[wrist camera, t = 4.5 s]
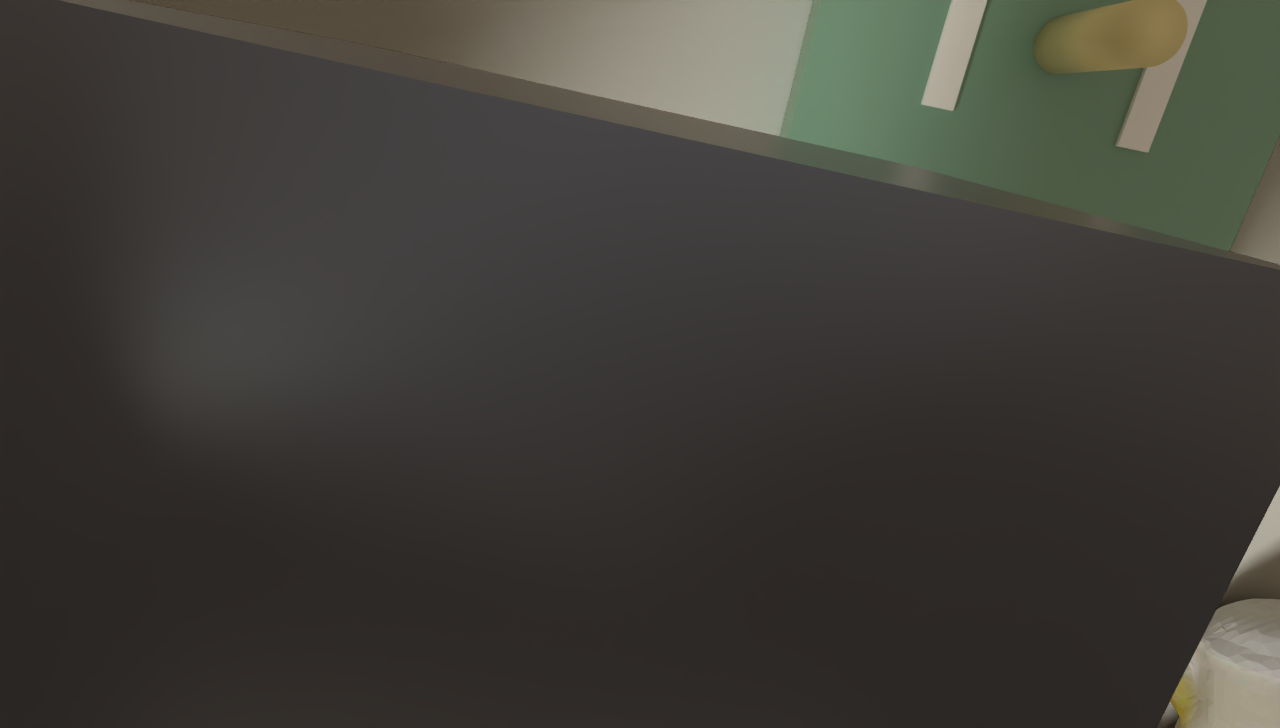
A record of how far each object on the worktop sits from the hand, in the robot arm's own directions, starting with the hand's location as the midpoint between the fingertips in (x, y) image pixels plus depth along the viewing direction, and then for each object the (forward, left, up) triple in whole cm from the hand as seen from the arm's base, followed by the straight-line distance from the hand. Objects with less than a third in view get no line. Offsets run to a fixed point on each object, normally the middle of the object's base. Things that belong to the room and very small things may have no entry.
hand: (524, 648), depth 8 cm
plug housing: (0, 0, -1) cm, 1 cm away
